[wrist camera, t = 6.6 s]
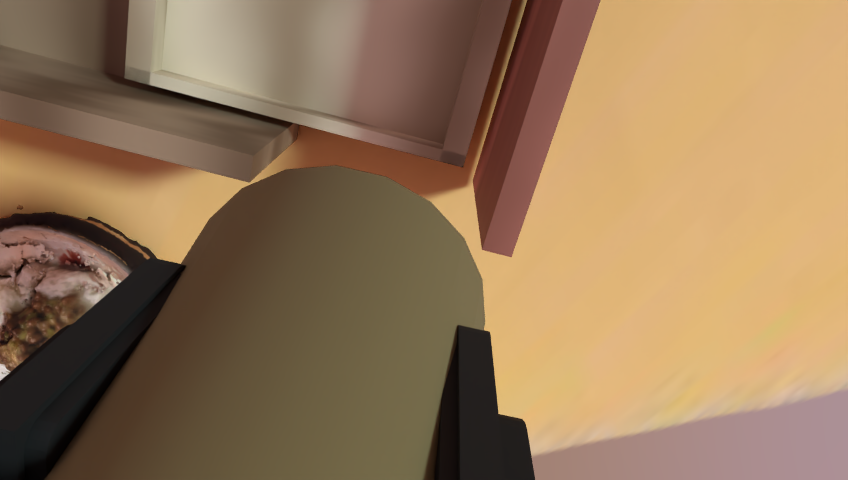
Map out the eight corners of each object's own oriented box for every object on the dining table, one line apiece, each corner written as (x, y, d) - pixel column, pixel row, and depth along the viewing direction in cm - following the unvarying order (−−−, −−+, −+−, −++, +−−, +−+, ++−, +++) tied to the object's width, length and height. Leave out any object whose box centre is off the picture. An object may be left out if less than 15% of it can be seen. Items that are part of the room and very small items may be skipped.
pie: (178, 166, 29) (136, 193, 25) (240, 417, 34) (214, 470, 30) (-107, 188, 30) (-190, 216, 26) (-1, 428, 35) (-56, 480, 31)
